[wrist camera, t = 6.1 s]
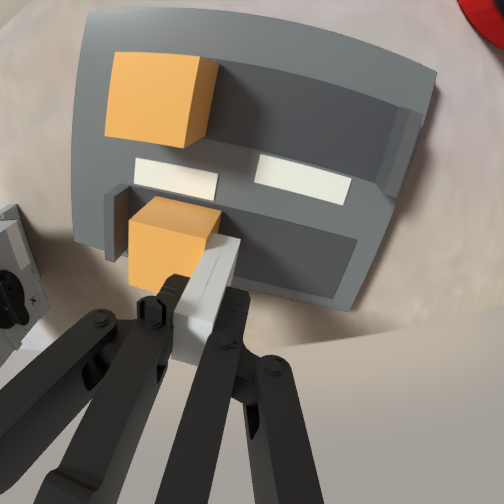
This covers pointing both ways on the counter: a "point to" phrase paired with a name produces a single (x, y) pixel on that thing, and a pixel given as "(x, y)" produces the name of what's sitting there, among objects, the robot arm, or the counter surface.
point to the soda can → (486, 18)
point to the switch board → (257, 145)
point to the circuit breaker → (17, 284)
